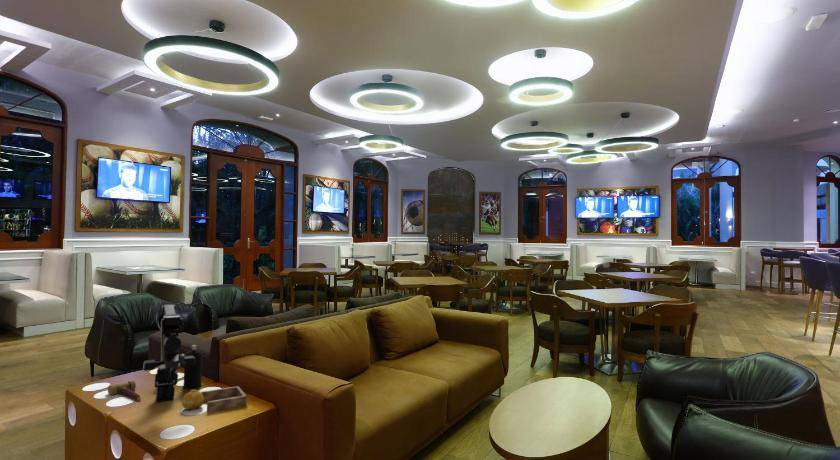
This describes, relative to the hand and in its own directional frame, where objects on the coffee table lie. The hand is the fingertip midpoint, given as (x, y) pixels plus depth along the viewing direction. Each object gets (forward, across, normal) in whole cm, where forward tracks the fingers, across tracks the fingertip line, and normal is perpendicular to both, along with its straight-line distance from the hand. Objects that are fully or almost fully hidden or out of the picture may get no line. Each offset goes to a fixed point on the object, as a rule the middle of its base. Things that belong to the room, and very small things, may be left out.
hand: (168, 383), depth 187 cm
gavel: (+13, -12, +30) cm, 35 cm away
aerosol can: (+12, +14, +30) cm, 35 cm away
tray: (+12, +22, 0) cm, 25 cm away
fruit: (+12, +10, 0) cm, 16 cm away
